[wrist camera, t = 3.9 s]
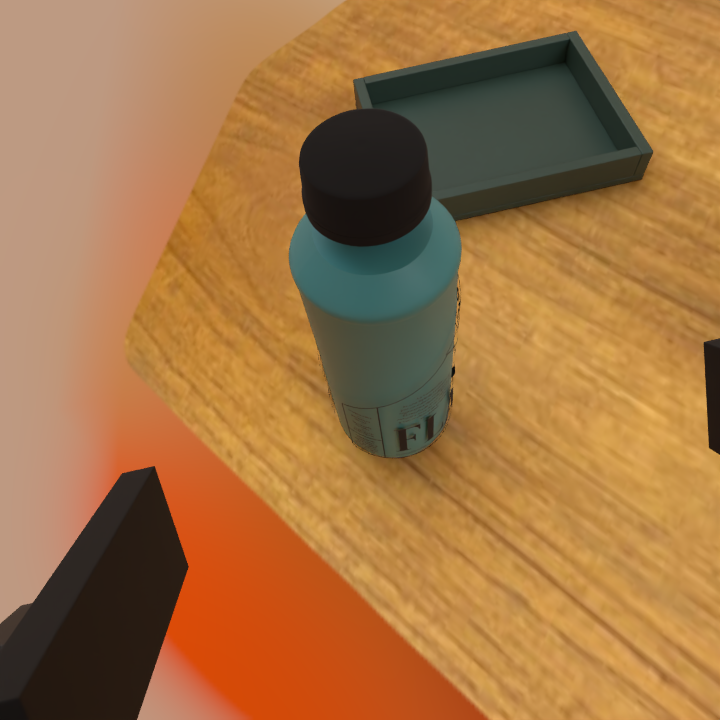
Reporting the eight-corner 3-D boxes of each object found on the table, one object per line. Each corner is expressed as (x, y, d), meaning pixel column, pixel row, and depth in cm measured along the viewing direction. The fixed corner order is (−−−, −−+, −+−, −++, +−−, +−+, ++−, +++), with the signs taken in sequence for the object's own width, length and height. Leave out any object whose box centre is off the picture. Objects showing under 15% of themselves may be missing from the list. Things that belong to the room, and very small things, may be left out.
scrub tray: (395, 234, 41) (393, 209, 39) (356, 106, 48) (352, 79, 46) (641, 179, 42) (654, 151, 40) (569, 59, 48) (576, 30, 46)
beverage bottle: (399, 495, 33) (371, 276, 15) (314, 420, 35) (207, 160, 18) (474, 412, 35) (526, 132, 17) (389, 347, 37) (358, 46, 20)
